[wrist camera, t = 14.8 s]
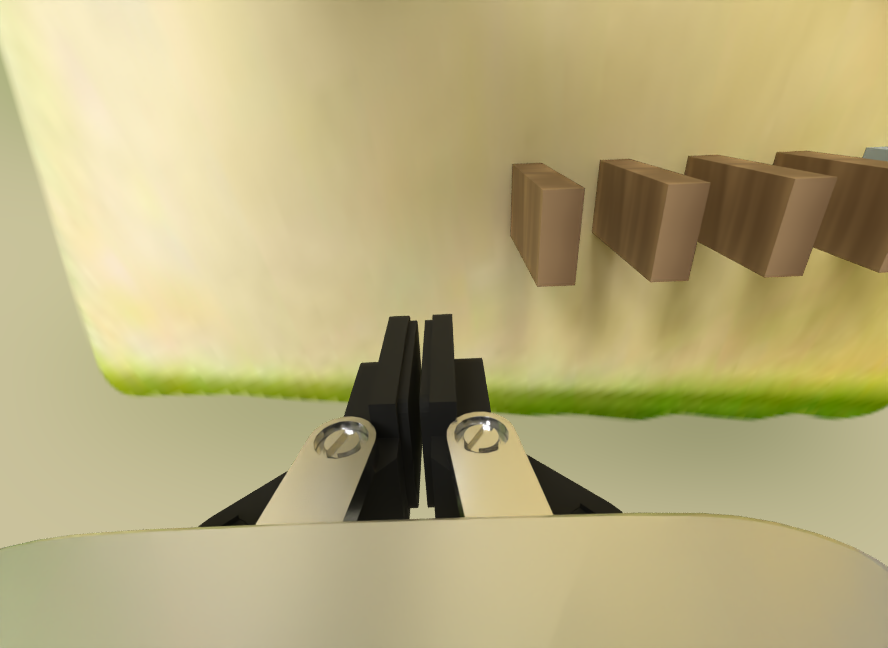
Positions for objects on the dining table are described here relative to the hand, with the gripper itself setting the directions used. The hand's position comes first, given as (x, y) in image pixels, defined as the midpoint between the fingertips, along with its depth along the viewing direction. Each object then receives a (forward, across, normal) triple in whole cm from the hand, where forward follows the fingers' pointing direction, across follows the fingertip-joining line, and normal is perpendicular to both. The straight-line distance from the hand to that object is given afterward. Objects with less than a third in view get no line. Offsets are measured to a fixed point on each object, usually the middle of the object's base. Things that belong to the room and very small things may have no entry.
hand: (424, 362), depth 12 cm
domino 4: (+21, -24, 0) cm, 32 cm away
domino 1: (+21, -6, 0) cm, 22 cm away
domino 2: (+21, -12, 0) cm, 25 cm away
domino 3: (+21, -18, 0) cm, 28 cm away
